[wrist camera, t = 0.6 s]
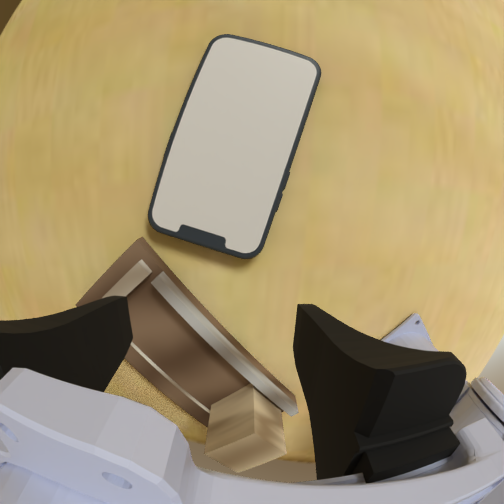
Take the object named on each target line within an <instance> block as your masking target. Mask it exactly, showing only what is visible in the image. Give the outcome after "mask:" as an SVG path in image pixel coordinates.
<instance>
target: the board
mask: <svg viewBox="0 0 504 504" xmlns="http://www.w3.org/2000/svg"><path fill="white" fill-rule="evenodd" d="M114 295H116V296H127V301H128V308H129V315H130V321H131V327H132V333H133V340H132V342H131V345H130V347H129V350H128V352H127V354H126V356H125V359H126V360H127V361H128V362H129V363H130V364H131V365H132V366H133V367H134V368H135V369H136V370H137V371H138V372H140V373H141V374H142V375H143V376H144V377H145V378H146V379H147V380H148V381H149V382H151V383H152V384H153V385H154V386H155V387H156V388H158V389H159V390H160V391H161V392H162V393H163V394H165V395H166V396H167V397H168V398H170V399H171V400H172V401H173V402H174V403H176V404H177V405H178V406H179V407H181V408H182V409H183V410H185V411H186V412H187V413H189V414H190V415H191V416H193V417H194V418H195V419H197V420H198V421H199V422H201V423H202V424H203V425H205V426H206V427H208V424H209V417H210V410H211V405H212V404H214V403H216V402H218V401H220V400H222V399H223V398H225V397H227V396H229V395H231V394H233V393H234V392H236V391H238V390H240V389H242V388H243V387H245V386H247V385H249V384H250V383H252V384H253V385H254V386H255V387H256V388H257V389H258V390H260V391H261V392H262V393H263V394H264V395H266V396H267V397H268V398H269V399H270V400H271V401H273V402H274V403H275V404H276V405H277V406H279V407H280V408H281V412H283V411H285V412H286V413H287V414H289V415H290V416H291V417H292V416H293V415H295V414H297V413H299V412H298V407H297V403H296V398H295V395H294V394H292V393H291V392H290V391H289V390H288V389H287V388H286V387H285V386H284V385H283V384H281V383H280V382H279V381H278V380H277V379H276V378H275V377H274V376H273V375H272V374H271V373H270V372H269V371H267V370H266V369H265V368H264V367H263V366H262V365H261V364H260V363H259V362H258V361H257V360H256V359H255V358H254V357H253V356H252V355H251V354H250V353H249V352H248V351H247V350H246V349H245V348H244V347H243V346H242V345H241V344H240V343H239V342H238V341H237V340H236V339H235V338H234V337H233V336H232V335H231V334H230V333H229V332H228V331H227V330H226V329H225V328H224V327H223V326H222V325H221V324H220V323H219V322H218V321H217V320H216V319H215V318H214V317H213V316H212V315H211V314H210V313H209V312H208V310H207V309H206V308H205V307H204V306H203V305H202V304H201V303H200V302H199V301H198V300H197V299H196V298H195V296H194V295H193V294H192V293H191V292H190V291H189V290H188V289H187V288H186V287H185V285H184V284H183V283H182V282H181V281H180V280H179V279H178V278H177V277H176V275H175V274H174V273H173V272H172V271H171V270H170V269H169V267H168V266H167V265H166V264H165V263H164V262H163V260H162V259H161V258H160V257H159V256H158V255H157V253H156V252H155V251H154V250H153V249H152V248H151V246H150V245H149V244H148V243H147V242H146V240H145V239H144V238H143V237H141V238H139V239H138V240H136V241H135V242H134V243H133V244H132V245H131V246H130V247H129V248H128V249H127V250H126V251H125V252H124V253H123V254H122V255H121V256H120V257H119V258H118V259H117V260H116V261H115V262H114V263H113V265H112V266H111V267H110V268H109V269H108V270H107V271H106V272H105V273H104V274H103V275H102V276H101V277H100V278H99V279H98V280H97V282H96V283H95V284H94V285H93V286H92V287H91V288H90V289H89V290H88V291H87V293H86V294H85V295H84V296H83V297H82V298H81V299H80V300H79V302H78V303H77V304H76V306H77V307H79V306H82V305H84V304H87V303H90V302H93V301H96V300H99V299H102V298H105V297H109V296H114Z"/></svg>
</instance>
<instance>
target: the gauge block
mask: <svg viewBox="0 0 504 504" xmlns="http://www.w3.org/2000/svg"><path fill="white" fill-rule="evenodd" d="M204 454H205V455H207V456H209V457H210V458H212V459H214V460H216V461H217V462H219V463H221V464H223V465H224V466H226V467H228V468H230V469H232V470H234V471H236V472H237V473H239V472H241V471H244V470H247V469H250V468H253V467H256V466H258V465H261V464H263V463H266V462H268V461H271V460H274V459H276V458H278V457H281V456H283V455H285V454H287V452H286V444H285V437H284V429H283V422H282V414H281V408H280V407H279V406H277V405H276V404H275V403H274V402H273V401H271V400H270V399H269V398H268V397H267V396H266V395H264V394H263V393H262V392H261V391H260V390H258V389H257V388H256V387H255V386H254V385H253V384H252V383H250V384H249V385H247V386H245V387H243V388H242V389H240V390H238V391H236V392H234V393H233V394H231V395H229V396H227V397H225V398H223V399H222V400H220V401H218V402H216V403H214V404H212V405H211V410H210V417H209V424H208V431H207V438H206V445H205V452H204Z"/></svg>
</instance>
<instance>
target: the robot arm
mask: <svg viewBox="0 0 504 504" xmlns="http://www.w3.org/2000/svg"><path fill="white" fill-rule="evenodd" d="M416 321H417V323H416ZM132 340H133V333H132V327H131V321H130V315H129V308H128V301H127V296H116V295H114V296H109V297H105V298H102V299H99V300H96V301H93V302H90V303H87V304H84V305H82V306H79V307H76V308H73V309H69V310H66V311H63V312H60V313H56V314H53V315H48V316H44V317H39V318H32V319H24V320H11V321H0V504H504V394H503V393H501V391H499V389H497V388H496V387H495V386H494V385H493V384H492V383H491V382H490V381H489V380H488V379H487V378H485V377H481V378H475V379H474V380H473V381H472V382H471V384H470V383H468V382H467V381H466V368H465V366H464V365H463V364H462V363H461V362H460V361H459V360H458V358H457V357H456V356H455V355H454V354H453V353H451V352H440V351H438V350H437V349H436V348H435V347H434V346H433V344H432V342H431V339H430V337H429V335H428V333H427V331H426V328H425V326H424V324H423V322H422V320H421V318H420V316H419V315H418V314H417V313H414V314H412V315H411V316H410V317H409V318H408V319H406V320H405V321H404V322H403V323H402V324H400V325H399V326H398V327H397V328H396V329H394V330H393V331H392V332H391V333H389V334H388V335H387V336H386V337H384V338H383V339H382V340H378V339H375V338H373V337H370V336H368V335H366V334H363V333H361V332H359V331H357V330H355V329H353V328H351V327H349V326H348V325H346V324H344V323H342V322H341V321H339V320H337V319H336V318H334V317H333V316H331V315H330V314H328V313H326V312H325V311H323V310H322V309H320V308H319V307H317V306H315V305H313V304H298V305H297V315H296V324H295V333H294V342H293V351H294V358H295V365H296V369H297V372H298V376H299V379H300V382H301V386H302V389H303V392H304V396H305V399H306V402H307V406H308V410H309V415H310V422H311V428H312V435H313V443H314V452H315V462H316V473H317V480H314V481H304V482H293V483H287V482H277V481H268V480H261V479H254V478H248V477H242V476H237V475H231V474H226V473H222V472H218V471H213V470H209V469H205V468H201V467H197V466H195V464H194V463H193V460H192V456H191V452H190V448H189V444H188V442H187V441H186V439H185V437H184V436H183V434H182V433H181V431H180V430H179V428H178V427H177V425H176V424H174V423H173V422H172V421H170V420H169V419H167V418H166V417H164V416H163V415H162V414H160V413H159V412H157V411H156V410H155V409H153V408H152V407H150V406H147V405H144V404H142V403H139V402H136V401H133V400H131V399H128V398H125V397H122V396H117V395H113V394H108V393H104V391H105V389H106V387H107V386H108V384H109V382H110V381H111V379H112V377H113V376H114V374H115V372H116V371H117V369H118V368H119V366H120V364H121V363H122V361H123V359H124V358H125V356H126V354H127V352H128V350H129V347H130V345H131V342H132Z"/></svg>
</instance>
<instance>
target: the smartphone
mask: <svg viewBox="0 0 504 504" xmlns="http://www.w3.org/2000/svg"><path fill="white" fill-rule="evenodd" d="M320 77H321V69H320V66H319V65H318V63H317V62H316V61H315V60H313V59H312V58H310V57H307V56H305V55H302V54H299V53H296V52H293V51H290V50H287V49H284V48H281V47H277V46H274V45H271V44H267V43H263V42H260V41H256V40H252V39H248V38H244V37H240V36H235V35H230V34H224V35H219V36H217V37H215V38H214V39H212V40H211V42H210V43H209V45H208V47H207V49H206V51H205V53H204V55H203V58H202V60H201V62H200V64H199V66H198V69H197V71H196V73H195V76H194V78H193V80H192V83H191V85H190V87H189V90H188V92H187V95H186V97H185V100H184V102H183V105H182V108H181V110H180V113H179V115H178V118H177V121H176V124H175V126H174V129H173V132H172V133H171V136H170V139H169V142H168V145H167V148H166V151H165V154H164V159H163V162H162V165H161V168H160V172H159V175H158V178H157V182H156V185H155V189H154V192H153V196H152V199H151V203H150V207H149V211H148V219H149V222H150V225H151V226H152V227H153V228H154V229H155V230H156V231H157V232H160V233H163V234H166V235H169V236H172V237H175V238H178V239H181V240H184V241H188V242H191V243H194V244H197V245H200V246H203V247H206V248H210V249H213V250H216V251H219V252H222V253H225V254H229V255H232V256H235V257H238V258H242V259H250V258H253V257H255V256H257V255H258V254H259V253H260V252H261V251H262V249H263V247H264V244H265V241H266V238H267V235H268V233H269V230H270V227H271V224H272V221H273V218H274V215H275V212H277V210H278V207H279V204H280V201H281V198H282V195H283V194H282V191H283V190H284V189H285V186H286V184H287V181H288V178H289V175H290V172H289V171H290V168H291V165H292V162H293V159H294V156H295V153H296V150H297V147H298V144H299V141H300V138H301V135H302V132H303V129H304V126H305V123H306V120H307V117H308V114H309V111H310V108H311V105H312V102H313V98H314V95H315V92H316V89H317V86H318V83H319V80H320Z"/></svg>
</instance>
